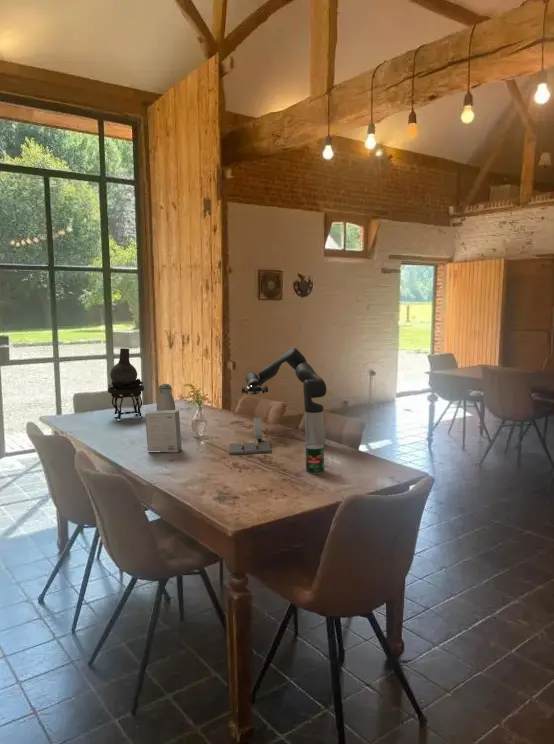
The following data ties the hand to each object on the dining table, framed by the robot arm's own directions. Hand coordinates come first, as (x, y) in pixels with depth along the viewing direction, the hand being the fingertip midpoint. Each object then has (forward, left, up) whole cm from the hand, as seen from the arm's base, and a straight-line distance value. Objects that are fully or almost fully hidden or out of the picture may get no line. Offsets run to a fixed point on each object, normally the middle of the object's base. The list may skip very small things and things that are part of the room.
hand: (255, 392), depth 306 cm
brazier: (+101, +29, -24) cm, 108 cm away
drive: (-10, +6, -24) cm, 27 cm away
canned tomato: (-68, +19, -25) cm, 74 cm away
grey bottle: (+44, +30, -24) cm, 59 cm away
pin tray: (-19, +18, -24) cm, 36 cm away
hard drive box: (+9, +50, -25) cm, 57 cm away
